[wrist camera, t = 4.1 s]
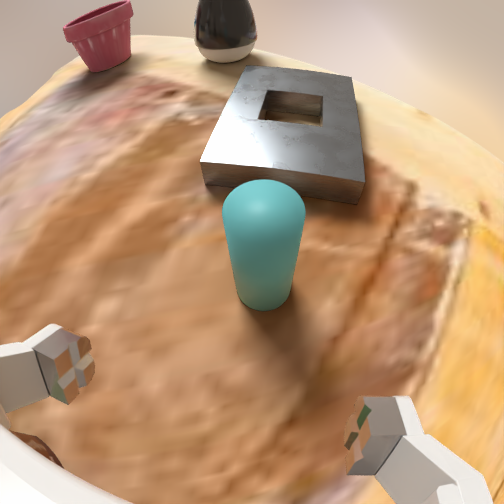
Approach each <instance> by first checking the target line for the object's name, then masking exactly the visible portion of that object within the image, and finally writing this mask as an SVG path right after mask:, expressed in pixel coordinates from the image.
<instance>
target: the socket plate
mask: <svg viewBox="0 0 504 504" xmlns="http://www.w3.org/2000/svg"><path fill="white" fill-rule="evenodd" d="M267 110H269V111H280V112H289V113H297V114H305V115H312V116H319V117H320V127H319V126H312V125H305V124H297V123H289V122H280V121H270V120H264V119H265V116H266V113H267ZM200 164H201V169H202V173H203V178H204V182H205V185H216V186H225V187H235V188H237V187H238V186H240V185H242V184H244V183H246V182H249V181H254V180H264V179H265V180H274V181H278V182H281V183H284V184H286V185H288V186H289V187H291V188H292V189H294V190H295V191H296V192H297V193H298V194H299V196H305V197H312V198H319V199H325V200H331V201H338V202H344V203H350V204H355V205H357V203H358V200H359V198H360V195H361V192H362V190H363V187H364V184H365V174H364V163H363V153H362V144H361V136H360V128H359V120H358V113H357V107H356V100H355V94H354V89H353V83H352V77H347V76H341V75H335V74H329V73H323V72H316V71H308V70H300V69H290V68H279V67H266V66H246V67H245V69H244V71H243V73H242V75H241V77H240V79H239V80H238V82H237V84H236V86H235V88H234V90H233V92H232V94H231V96H230V98H229V100H228V102H227V104H226V106H225V108H224V110H223V112H222V114H221V116H220V118H219V121H218V123H217V125H216V127H215V129H214V131H213V133H212V135H211V138H210V140H209V142H208V144H207V146H206V149H205V151H204V153H203V155H202V158H201V160H200Z"/></svg>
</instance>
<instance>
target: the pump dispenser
mask: <svg viewBox="0 0 504 504" xmlns="http://www.w3.org/2000/svg"><path fill="white" fill-rule="evenodd" d="M256 40H257V28H256V23H255V18H254V15H253V12H252V9H251V6H250V3H249V1H248V0H199V2H198V6H197V10H196V15H195V22H194V41H195V45H196V46H197V47H198V49H199V51H200V52H201V54H202V55H203V56H204V57H205V58H207V59H209V60H211V61H214V62H220V63H228V62H234V61H238V60H240V59H242V58H244V57H246V56H247V55H248V54H249V53H250V52H251V51H252V49H253V47H254V44H255V41H256Z"/></svg>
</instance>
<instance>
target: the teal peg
mask: <svg viewBox="0 0 504 504" xmlns="http://www.w3.org/2000/svg"><path fill="white" fill-rule="evenodd" d="M222 217H223V223H224V228H225V233H226V238H227V244H228V249H229V254H230V259H231V264H232V269H233V274H234V279H235V284H236V289H237V293H238V296H239V298H240V299H241V301H242V302H243V303H244V304H245V305H246V306H248V307H249V308H251V309H254V310H257V311H270V310H273V309H276V308H278V307H279V306H281V305H282V304H283V303H284V302H285V301H286V299H287V298H288V296H289V293H290V289H291V285H292V280H293V275H294V271H295V266H296V261H297V256H298V251H299V246H300V241H301V236H302V231H303V225H304V220H305V206H304V203H303V201H302V199H301V197H300V196H299V194H298V193H297V192H296V191H295V190H294V189H292V188H291V187H289V186H288V185H286V184H284V183H281V182H278V181H274V180H265V179H264V180H254V181H249V182H246V183H244V184H242V185H240V186H238V187H237V188H235V189H234V190H233V191H232V192H231V193H230V194H229V195H228V196H227V198H226V199H225V201H224V204H223V208H222Z"/></svg>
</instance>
